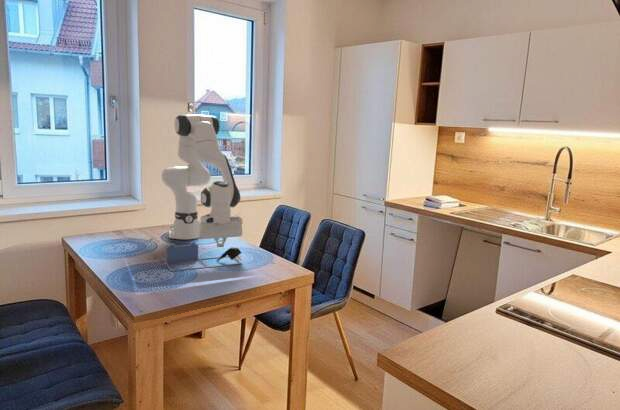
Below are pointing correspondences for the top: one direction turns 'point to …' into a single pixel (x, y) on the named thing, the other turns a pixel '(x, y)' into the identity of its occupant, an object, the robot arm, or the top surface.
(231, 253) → the power plug
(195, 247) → the frame
